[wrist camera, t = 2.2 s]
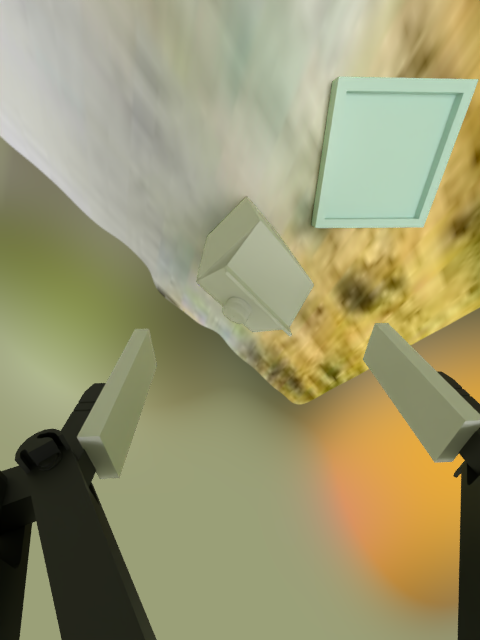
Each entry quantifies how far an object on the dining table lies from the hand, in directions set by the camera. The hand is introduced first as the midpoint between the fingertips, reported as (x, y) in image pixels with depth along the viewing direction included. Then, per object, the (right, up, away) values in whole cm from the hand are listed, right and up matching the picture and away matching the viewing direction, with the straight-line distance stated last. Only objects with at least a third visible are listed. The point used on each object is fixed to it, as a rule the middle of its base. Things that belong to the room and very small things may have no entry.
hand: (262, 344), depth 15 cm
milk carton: (-1, +13, +19) cm, 23 cm away
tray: (+15, +20, +15) cm, 29 cm away
